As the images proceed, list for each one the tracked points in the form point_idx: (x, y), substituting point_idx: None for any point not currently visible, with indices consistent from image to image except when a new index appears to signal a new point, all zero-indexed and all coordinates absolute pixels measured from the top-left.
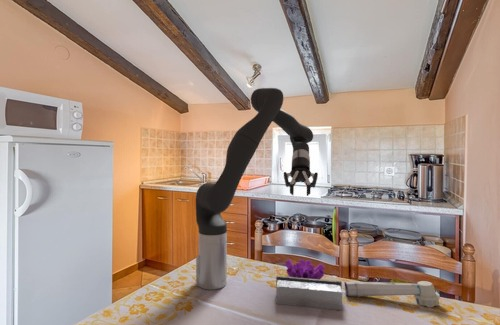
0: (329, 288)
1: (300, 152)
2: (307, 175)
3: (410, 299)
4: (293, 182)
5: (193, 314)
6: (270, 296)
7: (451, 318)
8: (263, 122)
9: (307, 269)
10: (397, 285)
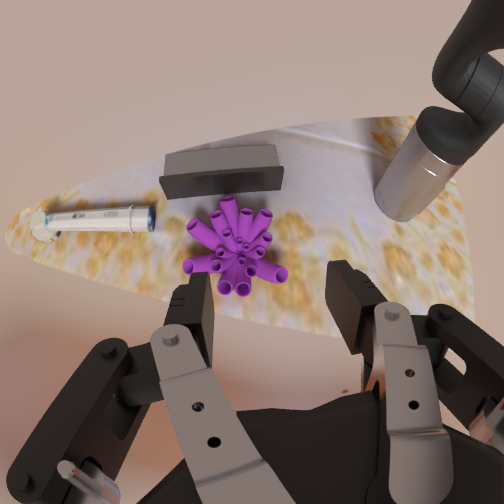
0: (184, 159)
1: None
2: (175, 483)
3: (64, 237)
4: (378, 323)
5: (362, 127)
6: (288, 180)
7: (48, 201)
8: None
9: (226, 251)
10: (71, 212)
